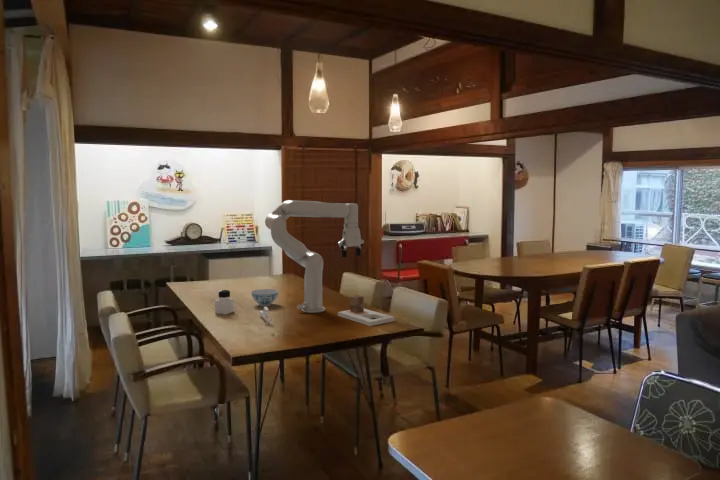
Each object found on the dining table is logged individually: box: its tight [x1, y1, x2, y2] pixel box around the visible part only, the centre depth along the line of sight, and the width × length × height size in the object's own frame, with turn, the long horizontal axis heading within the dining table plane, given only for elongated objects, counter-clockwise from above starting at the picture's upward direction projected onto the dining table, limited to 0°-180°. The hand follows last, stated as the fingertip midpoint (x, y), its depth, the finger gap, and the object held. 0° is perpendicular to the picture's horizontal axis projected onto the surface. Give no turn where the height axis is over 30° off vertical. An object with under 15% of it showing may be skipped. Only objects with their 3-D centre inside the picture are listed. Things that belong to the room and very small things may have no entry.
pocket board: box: [337, 308, 395, 327], centre depth 273 cm, size 16×26×2 cm, turn 39°
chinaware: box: [251, 288, 279, 307], centre depth 302 cm, size 15×15×8 cm
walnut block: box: [349, 294, 365, 313], centre depth 278 cm, size 5×5×8 cm
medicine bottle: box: [214, 289, 235, 315], centre depth 283 cm, size 7×7×12 cm
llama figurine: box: [258, 306, 272, 326], centre depth 266 cm, size 2×11×18 cm
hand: (351, 256), depth 297 cm, fingers open, 9 cm apart
